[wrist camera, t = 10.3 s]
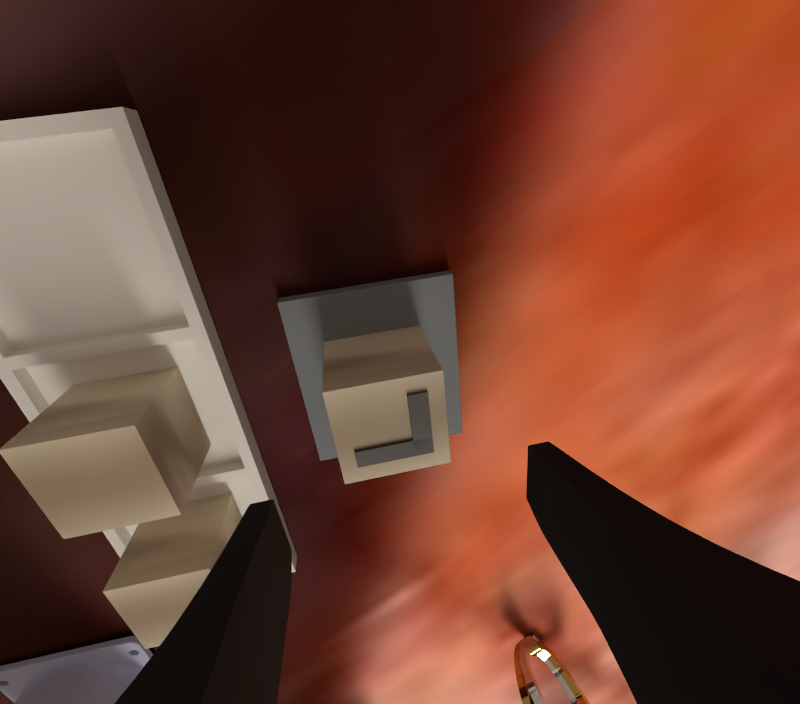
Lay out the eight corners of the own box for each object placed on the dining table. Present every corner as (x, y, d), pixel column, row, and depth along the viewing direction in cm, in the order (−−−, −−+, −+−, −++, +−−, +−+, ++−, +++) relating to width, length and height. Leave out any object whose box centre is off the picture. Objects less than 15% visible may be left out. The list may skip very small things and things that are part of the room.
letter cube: (430, 403, 18) (454, 463, 15) (341, 420, 18) (345, 486, 14) (422, 324, 17) (447, 371, 13) (324, 342, 16) (322, 394, 13)
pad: (458, 425, 20) (462, 432, 19) (320, 452, 19) (320, 460, 19) (448, 270, 16) (452, 274, 16) (279, 297, 16) (277, 302, 15)
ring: (488, 633, 29) (540, 788, 22) (523, 609, 28) (588, 761, 21) (538, 661, 32) (598, 806, 24) (570, 640, 31) (642, 783, 24)
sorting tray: (296, 555, 22) (295, 571, 21) (158, 585, 22) (151, 604, 21) (137, 110, 13) (122, 106, 12) (-123, 141, 12) (-160, 139, 11)
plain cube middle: (211, 444, 18) (181, 514, 14) (118, 461, 17) (63, 539, 14) (178, 366, 16) (134, 425, 12) (73, 384, 16) (-3, 450, 12)
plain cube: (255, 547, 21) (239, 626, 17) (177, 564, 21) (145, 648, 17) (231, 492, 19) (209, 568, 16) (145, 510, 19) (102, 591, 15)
